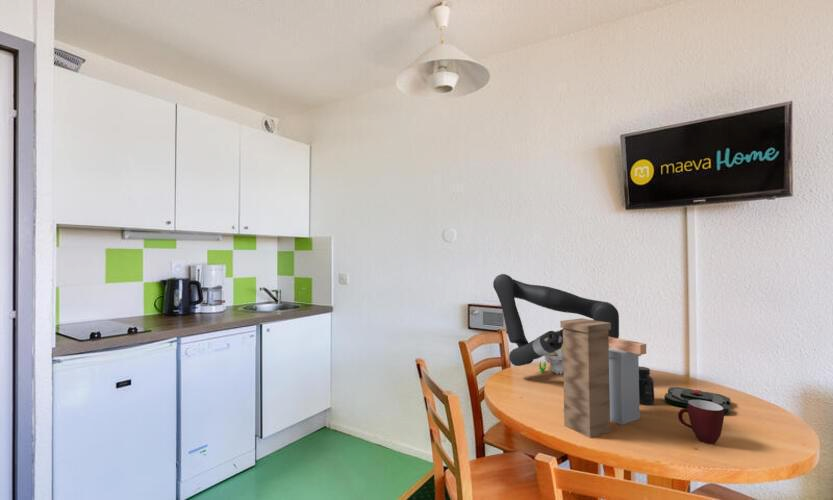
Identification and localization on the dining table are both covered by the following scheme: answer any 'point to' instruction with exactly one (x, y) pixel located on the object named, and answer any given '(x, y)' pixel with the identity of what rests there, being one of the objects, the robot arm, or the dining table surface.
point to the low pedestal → (623, 386)
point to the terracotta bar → (627, 346)
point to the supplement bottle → (645, 387)
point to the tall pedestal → (586, 376)
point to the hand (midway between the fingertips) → (576, 328)
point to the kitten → (554, 361)
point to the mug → (704, 420)
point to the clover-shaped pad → (695, 397)
